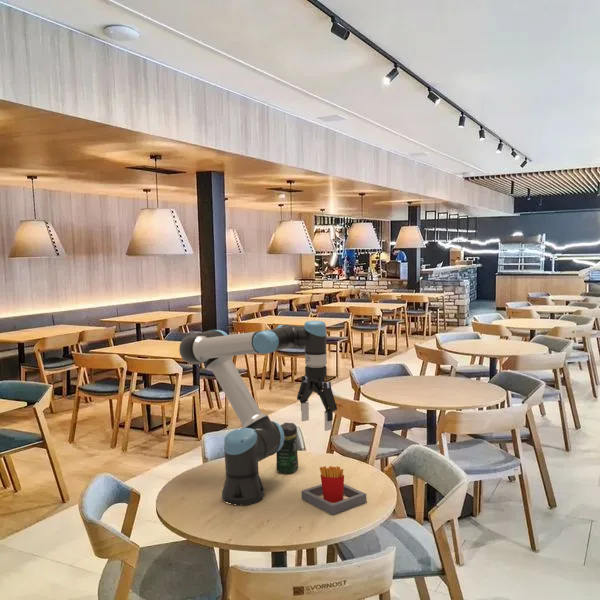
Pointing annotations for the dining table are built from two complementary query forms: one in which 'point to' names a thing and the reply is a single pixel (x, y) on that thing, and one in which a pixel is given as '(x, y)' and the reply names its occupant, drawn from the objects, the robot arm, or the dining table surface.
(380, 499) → the dining table surface
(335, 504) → the gray square frame
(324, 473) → the french fries
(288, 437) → the coffee jar
